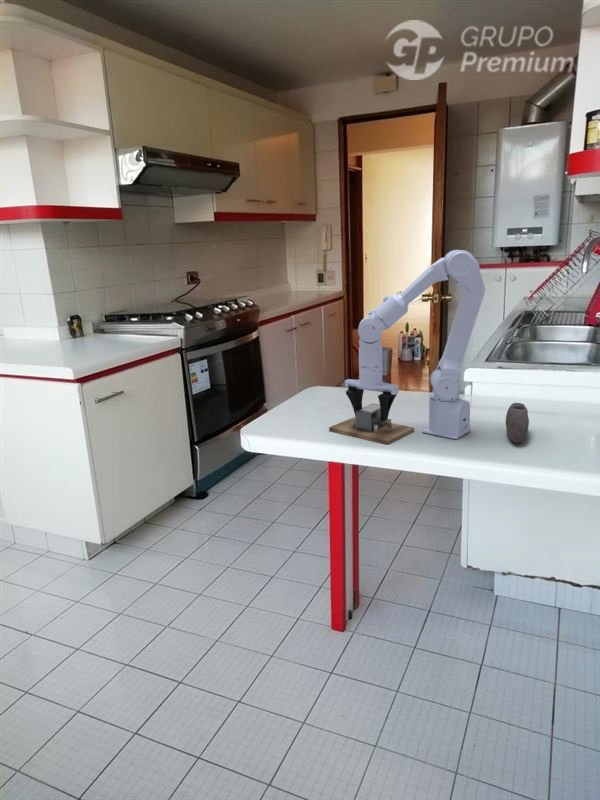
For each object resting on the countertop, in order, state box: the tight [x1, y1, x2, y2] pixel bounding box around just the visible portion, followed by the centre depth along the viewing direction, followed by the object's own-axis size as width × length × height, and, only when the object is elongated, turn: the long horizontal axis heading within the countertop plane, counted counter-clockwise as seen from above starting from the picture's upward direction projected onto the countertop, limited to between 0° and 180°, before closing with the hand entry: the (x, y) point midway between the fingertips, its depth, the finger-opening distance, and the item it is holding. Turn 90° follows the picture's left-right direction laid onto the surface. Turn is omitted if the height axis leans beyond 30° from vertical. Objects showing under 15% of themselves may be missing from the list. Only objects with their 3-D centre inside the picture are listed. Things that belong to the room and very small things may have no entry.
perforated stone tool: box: [505, 402, 530, 444], centre depth 134 cm, size 15×5×7 cm, turn 159°
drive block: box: [356, 403, 387, 433], centre depth 143 cm, size 4×8×5 cm, turn 142°
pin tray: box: [328, 416, 415, 446], centre depth 144 cm, size 18×12×3 cm, turn 48°
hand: (371, 418), depth 143 cm, fingers open, 7 cm apart
